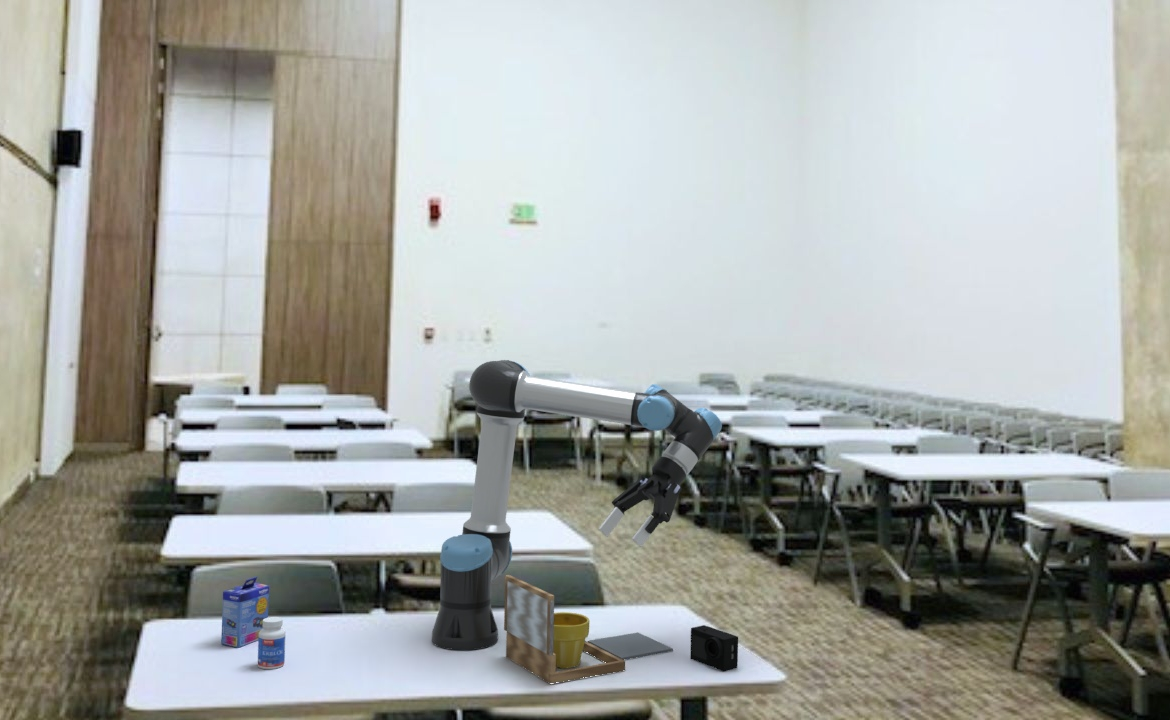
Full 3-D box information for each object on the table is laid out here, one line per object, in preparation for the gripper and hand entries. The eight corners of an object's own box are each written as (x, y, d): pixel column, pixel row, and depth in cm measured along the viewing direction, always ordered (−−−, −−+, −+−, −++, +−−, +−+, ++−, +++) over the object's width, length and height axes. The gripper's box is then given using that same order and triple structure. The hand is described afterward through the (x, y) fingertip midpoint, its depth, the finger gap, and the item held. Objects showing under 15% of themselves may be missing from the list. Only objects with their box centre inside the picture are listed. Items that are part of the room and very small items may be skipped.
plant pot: (588, 672, 205) (589, 626, 205) (538, 671, 205) (539, 624, 205) (589, 656, 215) (589, 612, 215) (542, 655, 215) (542, 611, 215)
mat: (587, 643, 225) (587, 640, 225) (637, 634, 232) (637, 632, 232) (621, 660, 213) (621, 657, 213) (673, 651, 220) (673, 648, 220)
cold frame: (503, 657, 214) (505, 575, 213) (576, 645, 223) (578, 566, 223) (548, 685, 197) (550, 596, 196) (625, 670, 206) (626, 585, 206)
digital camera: (685, 660, 214) (686, 628, 214) (703, 655, 218) (704, 624, 218) (719, 673, 206) (720, 640, 206) (737, 668, 210) (738, 635, 209)
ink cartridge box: (239, 648, 216) (240, 583, 216) (219, 645, 218) (220, 580, 218) (269, 636, 225) (270, 574, 225) (250, 633, 227) (251, 571, 227)
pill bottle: (259, 671, 202) (260, 624, 202) (255, 663, 206) (256, 617, 206) (287, 667, 204) (287, 621, 204) (282, 660, 209) (283, 614, 209)
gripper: (717, 482, 215) (661, 558, 208) (652, 470, 237) (599, 539, 229) (698, 460, 212) (641, 536, 205) (634, 450, 234) (580, 518, 226)
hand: (619, 537), depth 217 cm, fingers open, 13 cm apart
